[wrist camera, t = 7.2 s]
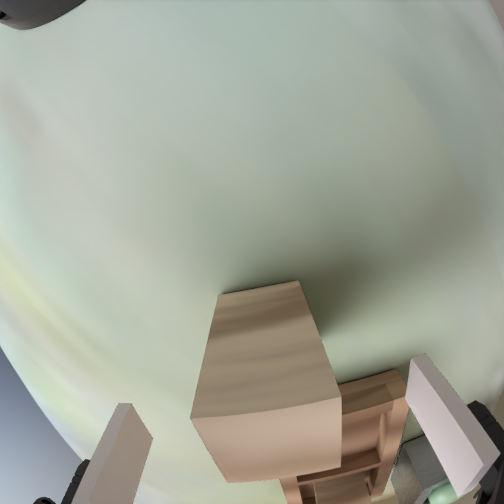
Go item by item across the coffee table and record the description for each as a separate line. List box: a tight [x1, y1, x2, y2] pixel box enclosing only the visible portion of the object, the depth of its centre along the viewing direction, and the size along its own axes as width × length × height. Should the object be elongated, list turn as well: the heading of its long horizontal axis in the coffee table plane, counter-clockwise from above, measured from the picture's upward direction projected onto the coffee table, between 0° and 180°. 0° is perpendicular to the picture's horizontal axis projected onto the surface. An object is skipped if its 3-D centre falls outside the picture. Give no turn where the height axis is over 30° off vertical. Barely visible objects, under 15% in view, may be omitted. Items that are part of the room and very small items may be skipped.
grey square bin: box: [391, 435, 450, 504], centre depth 21 cm, size 10×10×7 cm
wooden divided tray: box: [279, 369, 409, 504], centre depth 22 cm, size 20×11×3 cm, turn 11°
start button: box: [428, 481, 465, 504], centre depth 18 cm, size 6×6×3 cm
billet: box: [190, 280, 342, 483], centre depth 14 cm, size 5×5×10 cm
